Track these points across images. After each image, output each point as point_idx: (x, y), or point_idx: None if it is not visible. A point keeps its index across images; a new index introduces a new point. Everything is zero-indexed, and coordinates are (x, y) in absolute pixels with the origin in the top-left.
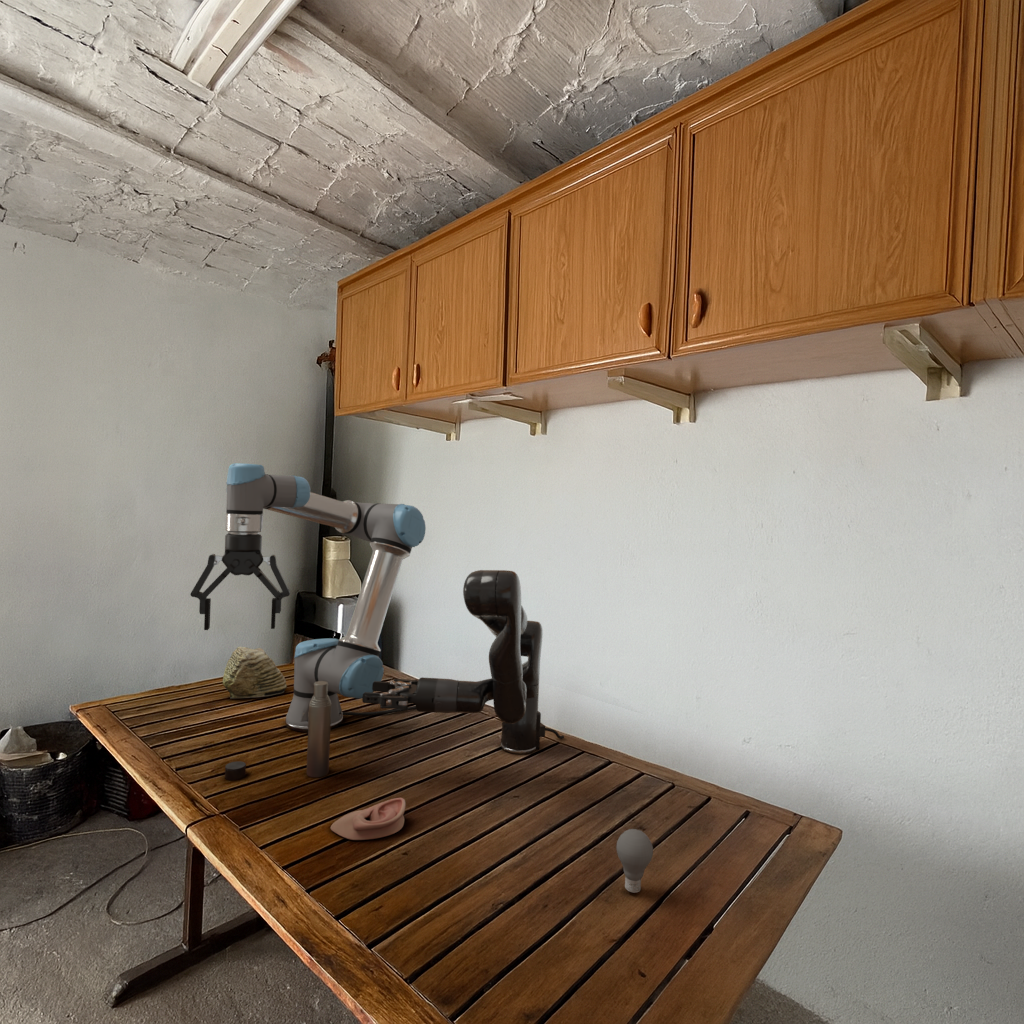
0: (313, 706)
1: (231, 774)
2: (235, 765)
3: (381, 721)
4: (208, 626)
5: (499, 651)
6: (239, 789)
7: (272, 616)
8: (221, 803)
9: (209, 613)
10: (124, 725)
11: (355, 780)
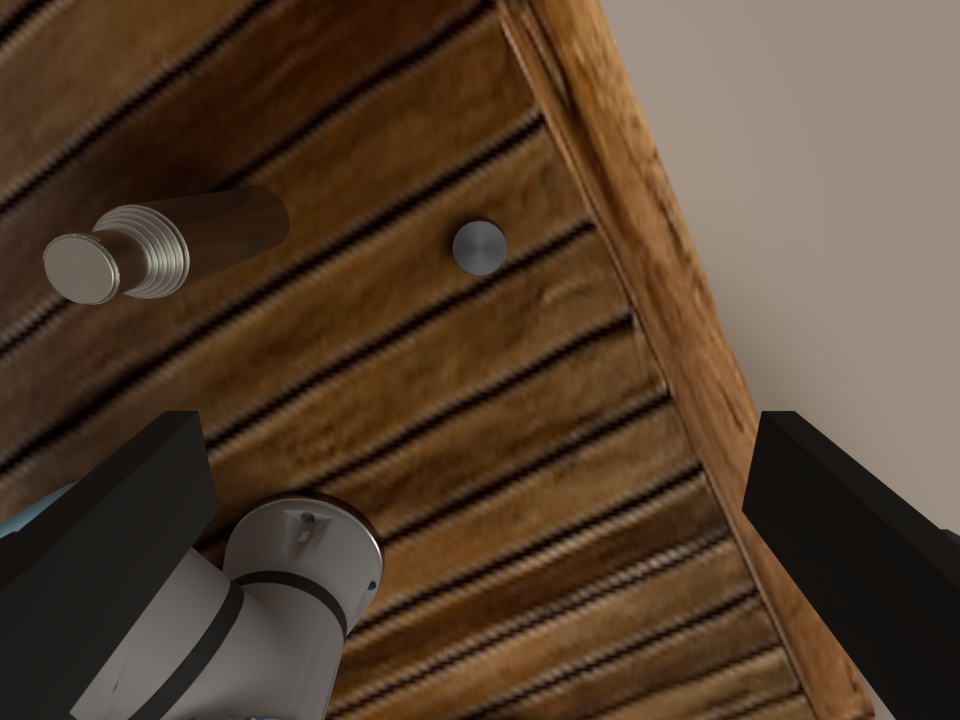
0: (162, 215)
1: (487, 220)
2: (479, 246)
3: None
4: (770, 451)
5: None
6: (459, 153)
7: (111, 481)
8: (497, 69)
9: (836, 570)
10: (772, 609)
11: (142, 141)
